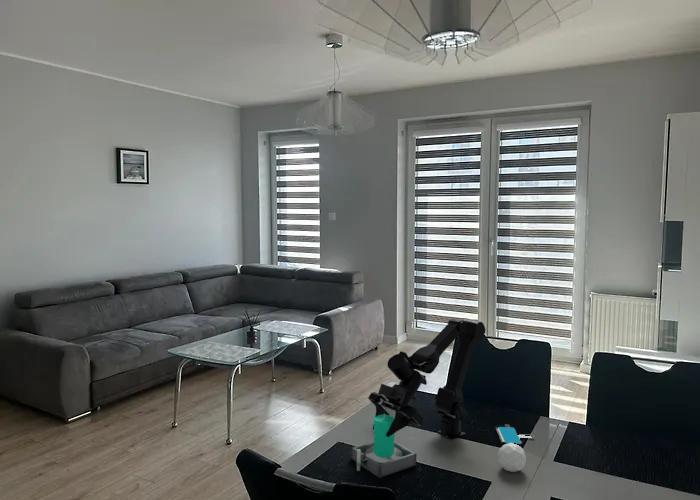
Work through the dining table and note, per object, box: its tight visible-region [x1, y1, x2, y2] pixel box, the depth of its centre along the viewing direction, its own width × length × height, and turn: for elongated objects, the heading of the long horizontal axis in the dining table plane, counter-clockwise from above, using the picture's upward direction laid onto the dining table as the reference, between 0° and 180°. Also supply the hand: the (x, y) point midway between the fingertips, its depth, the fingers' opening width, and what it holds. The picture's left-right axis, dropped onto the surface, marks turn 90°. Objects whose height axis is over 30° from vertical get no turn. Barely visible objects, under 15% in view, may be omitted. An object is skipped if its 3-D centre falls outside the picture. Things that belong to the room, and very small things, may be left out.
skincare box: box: [382, 381, 400, 419], centre depth 191 cm, size 6×4×12 cm
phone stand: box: [495, 423, 532, 445], centre depth 177 cm, size 20×12×2 cm, turn 175°
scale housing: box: [351, 440, 417, 479], centre depth 157 cm, size 16×14×6 cm
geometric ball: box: [497, 443, 527, 473], centre depth 154 cm, size 8×8×8 cm
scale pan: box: [361, 446, 402, 464], centre depth 157 cm, size 14×11×1 cm
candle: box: [373, 414, 395, 457], centre depth 158 cm, size 6×6×12 cm
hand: (380, 433), depth 157 cm, fingers closed on candle, 5 cm apart
